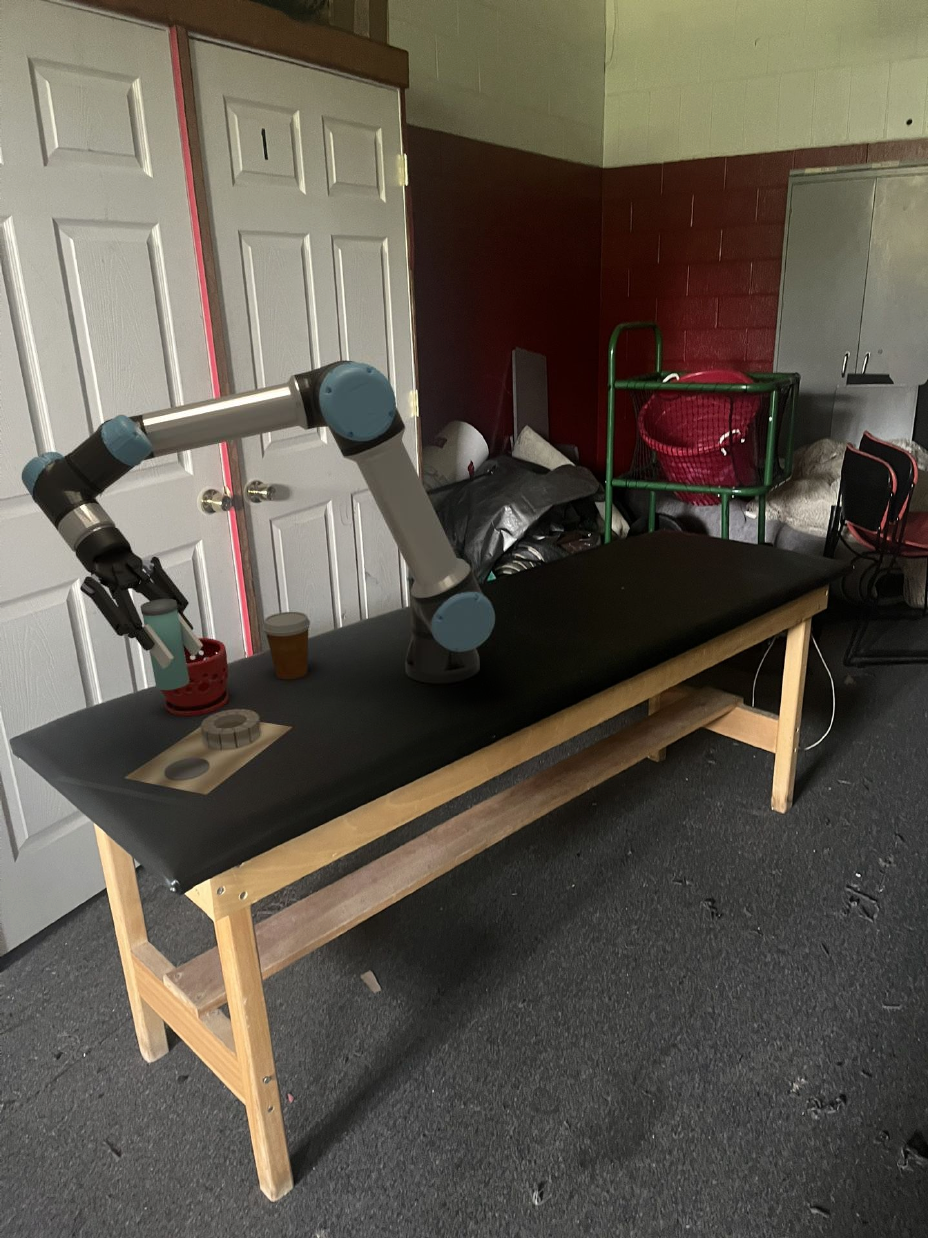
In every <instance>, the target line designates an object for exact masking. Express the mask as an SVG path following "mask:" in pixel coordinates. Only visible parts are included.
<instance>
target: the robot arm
mask: <svg viewBox="0 0 928 1238" xmlns="http://www.w3.org/2000/svg"><path fill="white" fill-rule="evenodd" d="M296 427H300V428H302V429H303V430H305V431H307V430H312V429H317V428H327V427H328V429H329V431H330V433H331V435H332V437H333V439H334V441H335V442H336V445H337V447H338V449H339V451H340V453H341V455H342V456H343V458H344V459H347V460H350V461H353V462H355V463H356V465H357V467H358V470H359V472H360V473H361V475H362V477H363V479H364V481H365V483H366V485H367V488H368V489H369V491H370V494H371V496H372V497H373V499H374V502H375V504H376V506H377V508H378V510H379V512H380V514H381V515H382V518H383V520H384V522H385V524H386V526H387V527H388V530H389V532H390V534H391V536H392V539H394V541H395V543H396V546H397V548H398V550H399V552H400V554H401V556H402V558H403V560H404V563H405V564H406V566H407V568H408V569H407V572H408V573H407V580H406V581H408V593H409V594H408V595H409V609H410V625H411V637H410V641H409V645H408V649H407V653H406V657H405V659H404V660H405V662H404V665H405V673H406V675H407V676H408V677H409V678H410V679H412V680H415V681H417V682H421V683H425V684H435V685H436V684H451V683H457V682H460V681H466V680H467V679H471V678H472V677H474V676H475V675H477V673H478V672H479V671H480V670H481V669H480V666H481V664H480V655H479V653H478V650H477V648H478V647H479V646H481V645H482V644H484V642H485V641H486V640H487V639H488V638H489V637H490V636H491V633H492V631H493V629H494V627H495V622H496V614H495V610H494V608H493V604H492V602H491V601H490V599H488V597H487V596H485V595H484V593H483V592H482V590H481V588H480V586H479V583H478V580H477V579H476V577H475V574H474V573H473V571H472V568H471V566H470V564H469V563H467V561H466V560H465V559H462V558H458V557H457V556H456V553H455V551H454V549H453V547H452V546H451V543H450V541H449V539H448V537H447V535H446V534H447V533H446V532H445V530H444V528H443V526H442V524H441V521H440V519H439V517H438V516H437V515H438V514H437V513H436V510H435V509H434V506H433V504H432V502H431V500H430V498H429V495H428V494H427V491H426V489H425V487H424V485H423V483H422V480H421V478H420V476H419V474H418V473H417V470H416V468H415V466H414V463H413V462H412V459H411V457H410V455H409V453H408V451H407V449H406V446H405V444H404V442H403V436H404V434H405V430H406V427H407V426H406V425H405V423H404V421H403V419H402V416H401V414H400V412H399V410H398V407H397V401H396V396H395V390H394V389H393V387H392V385H391V383H390V381H389V379H388V378H387V377H386V376H385V375H384V373H382V372H381V371H380V370H379V369H377V368H376V367H374V366H371V364H367V363H365V362H358V361H353V360H348V359H347V360H345V359H343V360H337V361H333V362H332V363H328V364H326V365H325V364H324V365H323V366H321V367H318V368H315V369H311V370H308V371H305V372H301V373H297V374H292V375H291V376H290V377H289V379H288V380H287V382H284V383H283V382H282V383H278V384H275V385H270V386H265V387H261V388H256V389H251V390H247V391H243V392H242V391H241V392H238V393H232V394H229V395H224V396H219V397H214V398H209V399H205V400H200V401H196V402H192V403H187V404H183V405H177V406H172V407H168V408H164V409H159V410H154V411H150V412H146V413H145V412H144V413H142V414H138V415H133V416H132V415H131V416H127V415H125V414H119V415H116V416H115V417H113V418H110V419H107V420H105V421H104V422H103V423H100V425H99V426H98V427H97V428H96V430H95V431H94V432H93V433H92V434H91V435H90V436H89V437H87V438H86V439H85V440H84V441H82V442H81V443H80V444H79V445H77V447H76V448H74V449H73V450H72V451H71V452H68V453H67V454H66V455H62V454H61V453H59V452H56V451H47V452H43V453H42V454H41V455H40V456H34V457H33V458H31V460H29V461H28V462H27V463H26V464H25V465H24V467H23V469H22V470H21V480H22V484H23V485H24V486H25V488H26V490H27V491H28V492H29V494H30V496H31V499H32V500H33V502H34V503H35V504H36V505H37V506H38V507H39V509H40V510H41V511H42V512H43V513H44V515H45V516H46V518H47V519H48V520H49V522H50V523H51V524H52V525H53V527H54V528H55V530H57V532H58V533H59V535H60V536H61V538H62V539H63V540H64V541H65V543H66V545H68V547H69V548H70V550H71V551H72V552H73V553H75V557H76V558H77V559H78V561H79V562H80V564H81V565H82V566H83V567H84V570H86V571H87V572H88V573H90V576H85V578H84V579H83V582H82V583H81V585H80V587H79V588H80V591H81V592H82V593H84V594H85V595H86V596H87V597H88V598H90V599H91V601H93V603H94V604H95V606H96V607H97V609H98V610H99V612H101V614H102V615H103V617H104V619H106V621H107V622H108V624H109V625H110V627H111V628H112V630H113V631H114V632H115V633H116V635H117V636H119V637H123V636H124V635H127V637H128V638H130V639H136V641H137V642H138V644H139V645H140V646H141V648H142V649H143V650H144V651H146V652H148V651H150V652H151V653H152V655H153V656H154V657H155V659H156V660H157V661H158V663H159V664H160V665H161V667H162V668H163V669H164V668H166V667H168V665H169V664H170V662H171V661H172V660H173V658H174V657H173V656H172V654H171V653H170V652H169V650H168V649H167V648H166V646H165V645H164V644H163V642H162V641H161V640H160V638H159V637H158V636H157V634H156V633H155V632H154V630H153V629H152V628H151V626H150V625H149V624H147V625H144V626H143V621H142V620H141V617H140V615H139V612H138V610H137V607H136V606H135V603H134V601H133V598H132V596H131V593H130V592H129V591H130V590H129V589H132V590H133V591H134V592H135V593H137V594H141V595H142V596H143V597H144V598H145V599H147V600H148V602H149V601H153V600H159V599H174V600H176V602H177V612H178V618H179V623H180V629H181V635H182V641H183V644H184V646H185V647H186V648H187V650H188V651H189V652H190V654H191V656H192V657H195V656H194V655H196V654H197V653H198V652H200V651H201V650H200V649H201V648H202V646H203V644H202V643H201V642H200V640H199V639H198V638H199V637H198V636H197V635H196V634H195V633H194V631H193V630H194V626H193V624H192V623H191V622H190V620H189V619H188V618H187V616H186V615H185V614H184V611H185V610H186V608H187V607H188V605H189V604H190V602H189V601H188V599H187V598H186V597H185V595H184V594H183V593H182V591H181V590H180V589H179V588H178V586H177V585H176V584H175V583H174V581H173V580H172V578H171V577H170V576H169V575H168V574H167V572H166V571H165V569H164V568H163V566H162V564H161V561H160V558H159V557H157V556H152V557H151V559H142V558H141V557H140V556H138V555H137V554H135V552H133V550H132V549H133V548H132V546H131V544H130V542H129V541H128V539H127V538H126V536H125V535H124V534H123V533H122V531H121V530H120V528H118V527H117V526H116V523H115V522H114V520H113V519H112V518H111V516H110V515H109V514H108V512H107V511H106V510H105V509H104V508H103V506H102V505H101V504H100V503H99V501H98V500H97V497H98V496H100V495H101V494H103V492H105V491H106V489H108V488H110V486H112V485H113V484H115V483H116V482H117V481H118V480H120V479H121V478H122V477H124V476H125V475H126V474H127V473H129V472H130V471H132V469H134V468H135V467H137V466H139V465H141V463H142V462H143V461H147V460H151V459H155V458H159V457H162V456H163V457H164V456H168V455H173V454H177V453H182V452H186V451H190V450H195V449H198V448H204V447H208V446H212V445H213V446H214V445H218V444H222V443H227V442H230V441H231V442H232V441H236V440H240V439H245V438H249V437H254V436H258V435H262V434H268V433H272V432H275V431H281V430H286V429H291V428H296ZM105 588H107V589H108V591H109V593H110V594H109V593H108V591H106V589H105ZM114 600H115V601H114ZM199 650H200V651H199ZM150 652H149V653H150Z"/></svg>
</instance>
